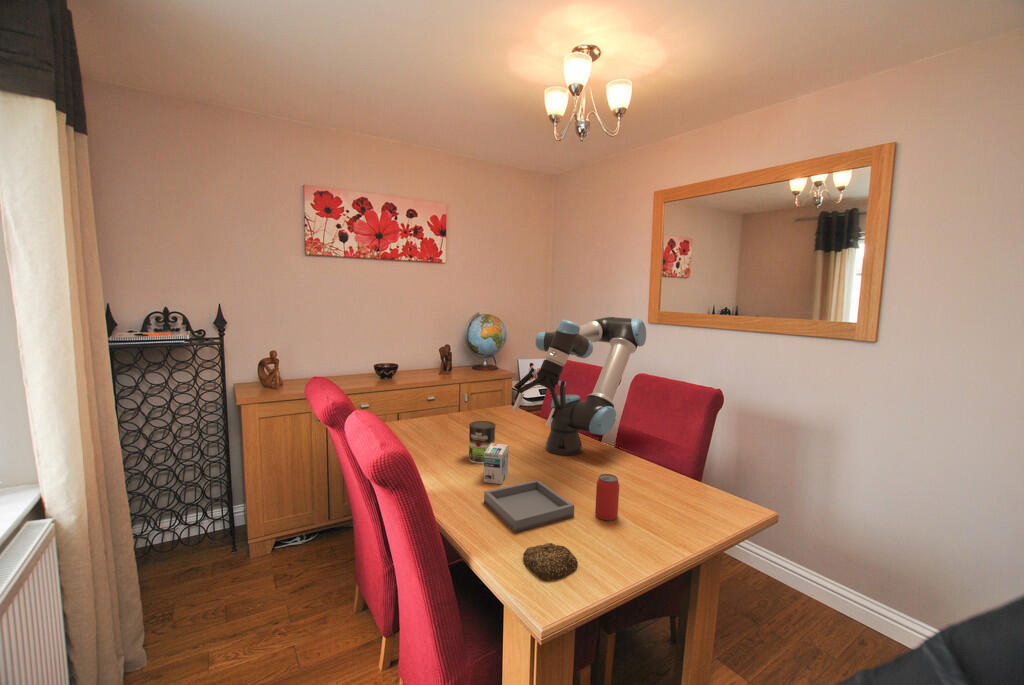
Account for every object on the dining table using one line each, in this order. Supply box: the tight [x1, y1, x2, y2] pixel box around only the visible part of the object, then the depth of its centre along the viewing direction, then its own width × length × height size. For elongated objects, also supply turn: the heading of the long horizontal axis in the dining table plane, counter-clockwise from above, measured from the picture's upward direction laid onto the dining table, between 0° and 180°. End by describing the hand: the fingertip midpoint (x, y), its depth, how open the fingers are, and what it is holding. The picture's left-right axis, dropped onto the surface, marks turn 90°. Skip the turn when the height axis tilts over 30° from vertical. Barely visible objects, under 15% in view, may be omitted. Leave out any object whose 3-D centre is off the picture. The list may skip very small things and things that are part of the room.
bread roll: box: [523, 542, 579, 581], centre depth 110 cm, size 13×12×5 cm
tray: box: [483, 479, 575, 534], centre depth 136 cm, size 20×20×4 cm
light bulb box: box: [483, 442, 509, 485], centre depth 158 cm, size 11×7×11 cm, turn 168°
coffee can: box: [468, 420, 496, 465], centre depth 175 cm, size 10×10×14 cm
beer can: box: [594, 473, 620, 521], centre depth 133 cm, size 7×7×12 cm
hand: (530, 418), depth 157 cm, fingers open, 13 cm apart
